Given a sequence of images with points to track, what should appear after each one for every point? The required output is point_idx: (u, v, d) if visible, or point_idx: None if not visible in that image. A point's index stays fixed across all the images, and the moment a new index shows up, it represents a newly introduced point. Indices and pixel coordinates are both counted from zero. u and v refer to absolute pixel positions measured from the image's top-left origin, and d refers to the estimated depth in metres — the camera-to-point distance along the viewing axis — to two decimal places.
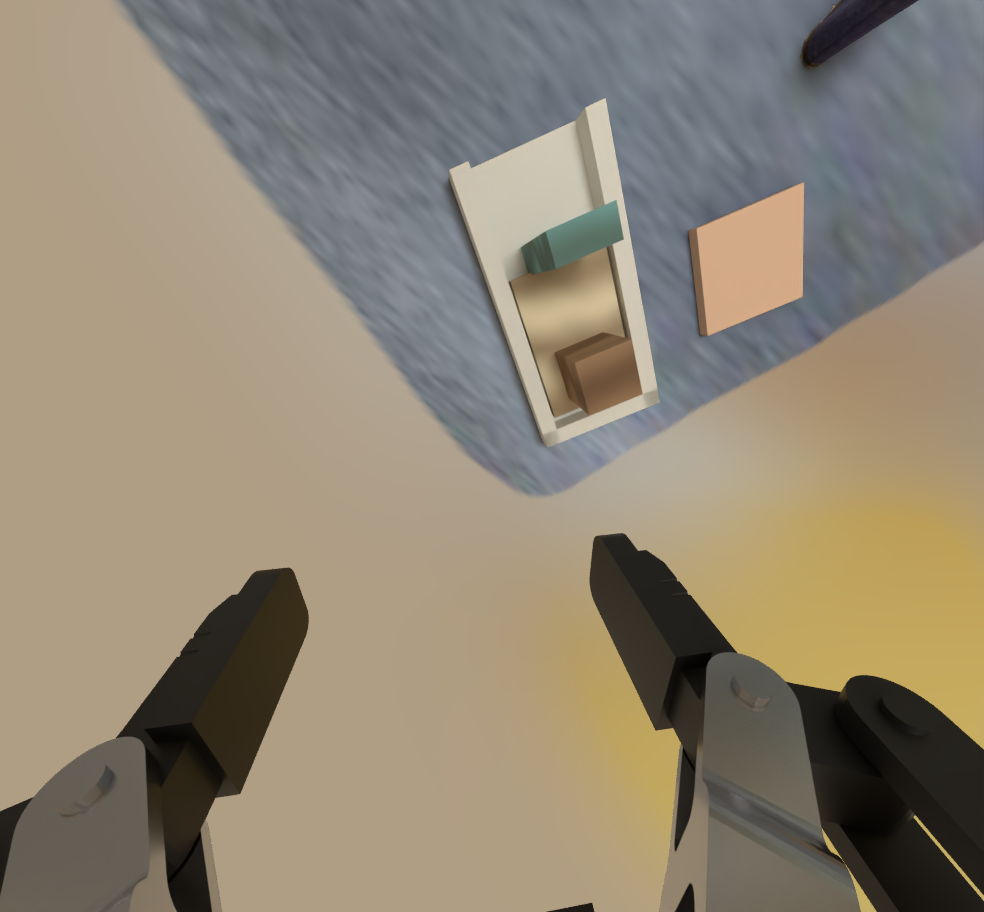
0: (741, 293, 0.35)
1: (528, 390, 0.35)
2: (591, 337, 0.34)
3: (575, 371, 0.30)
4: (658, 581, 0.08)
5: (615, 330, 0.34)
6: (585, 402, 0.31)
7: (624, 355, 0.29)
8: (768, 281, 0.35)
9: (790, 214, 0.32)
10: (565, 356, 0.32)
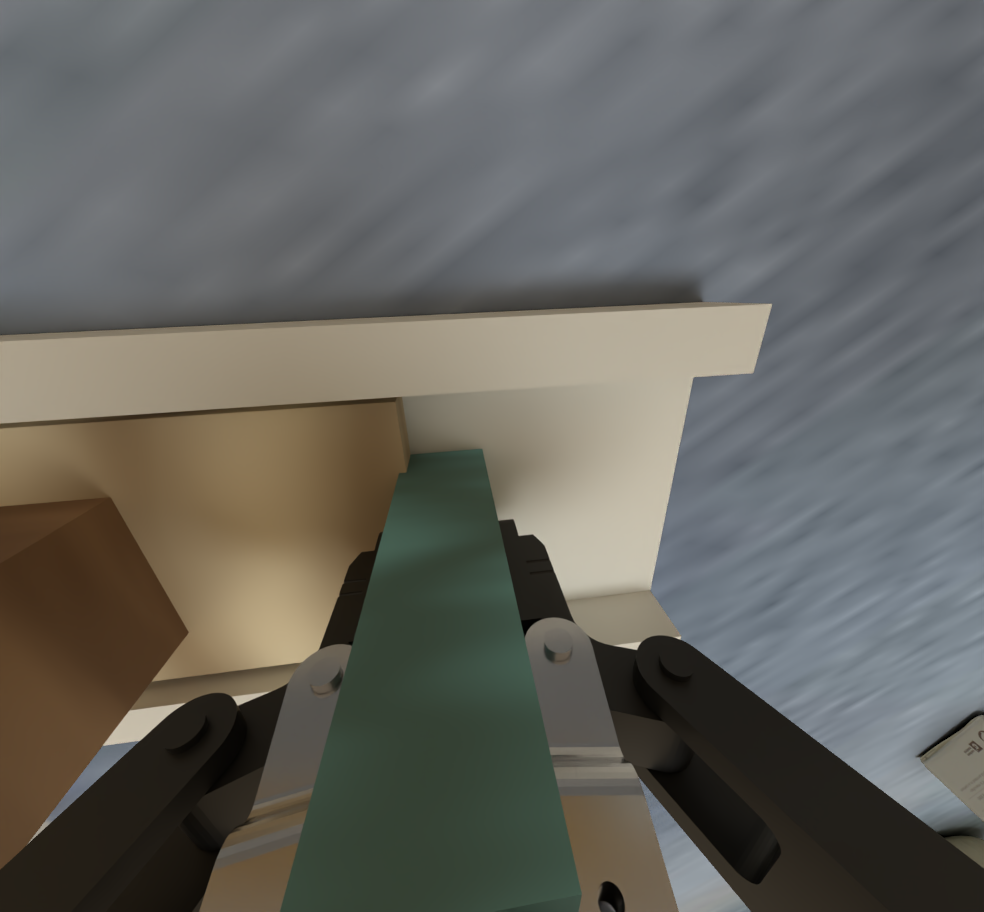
0: None
1: None
2: (166, 609, 0.10)
3: None
4: (523, 559, 0.08)
5: (193, 660, 0.12)
6: None
7: None
8: None
9: None
10: None
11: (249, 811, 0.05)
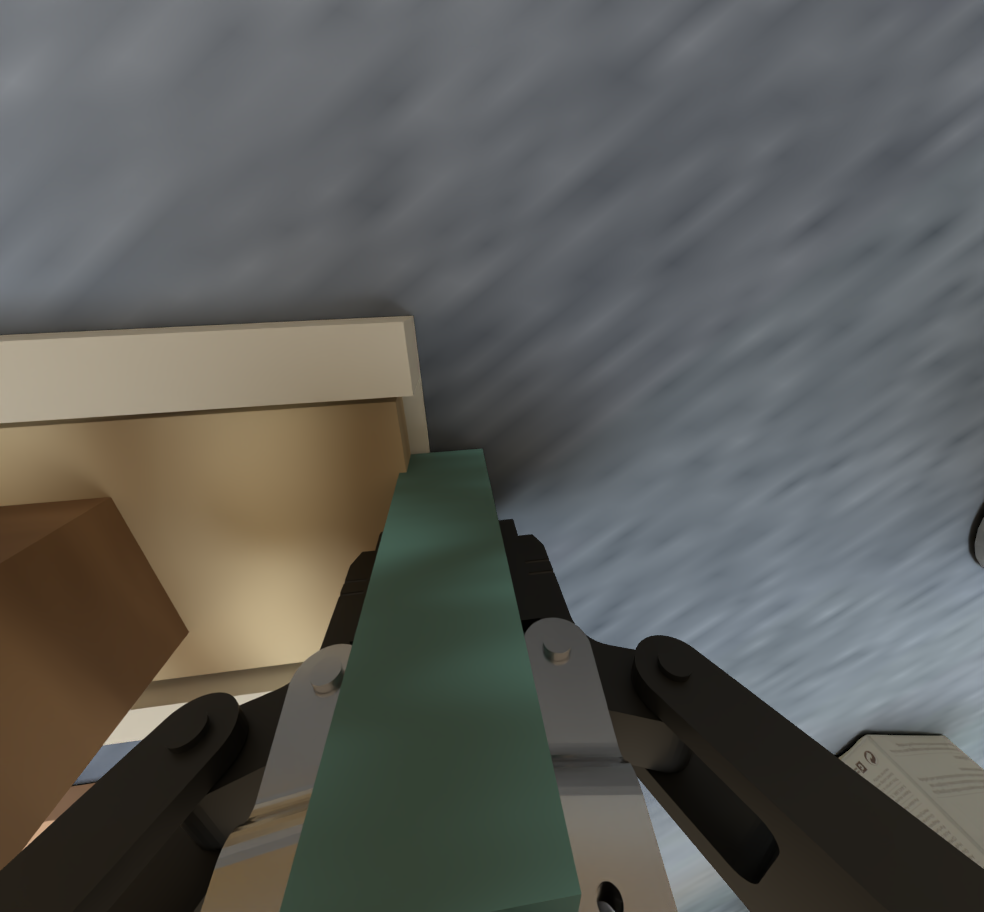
0: None
1: None
2: (167, 609, 0.10)
3: None
4: (522, 559, 0.08)
5: (193, 659, 0.12)
6: None
7: None
8: None
9: None
10: None
11: (251, 811, 0.05)
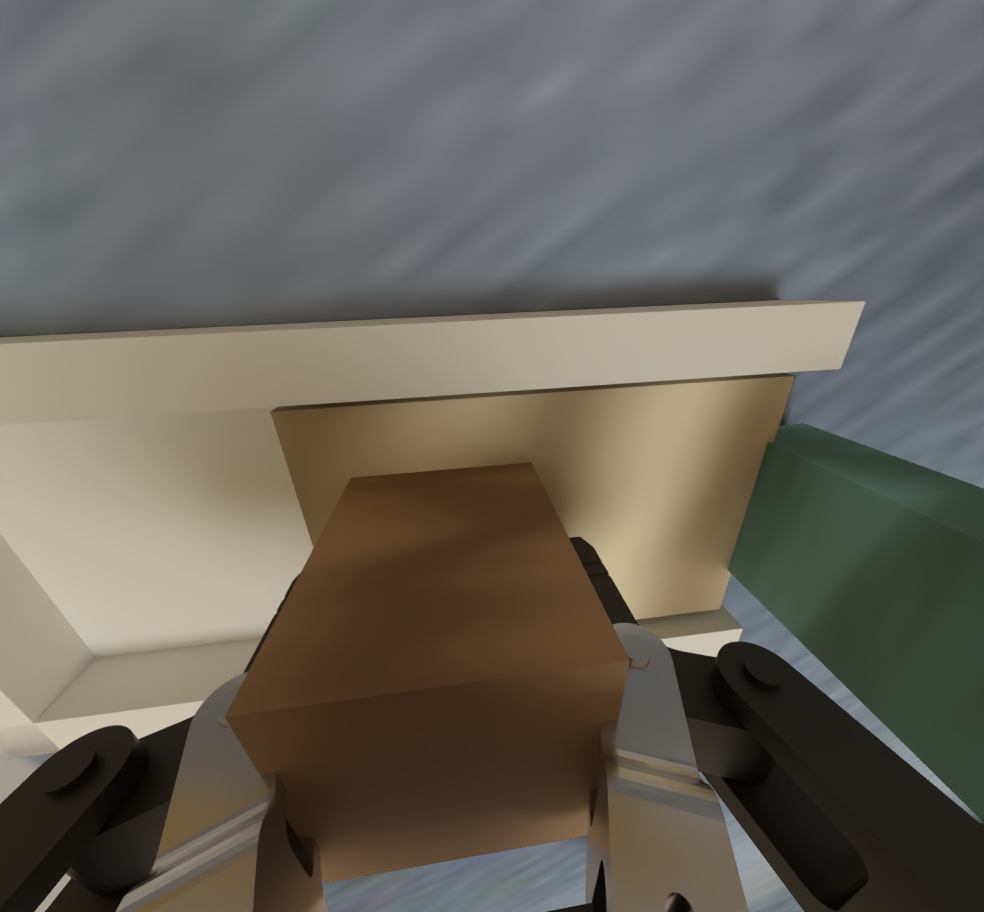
0: None
1: None
2: None
3: (551, 632, 0.05)
4: None
5: None
6: (338, 688, 0.04)
7: (542, 822, 0.06)
8: None
9: None
10: None
11: (146, 854, 0.05)
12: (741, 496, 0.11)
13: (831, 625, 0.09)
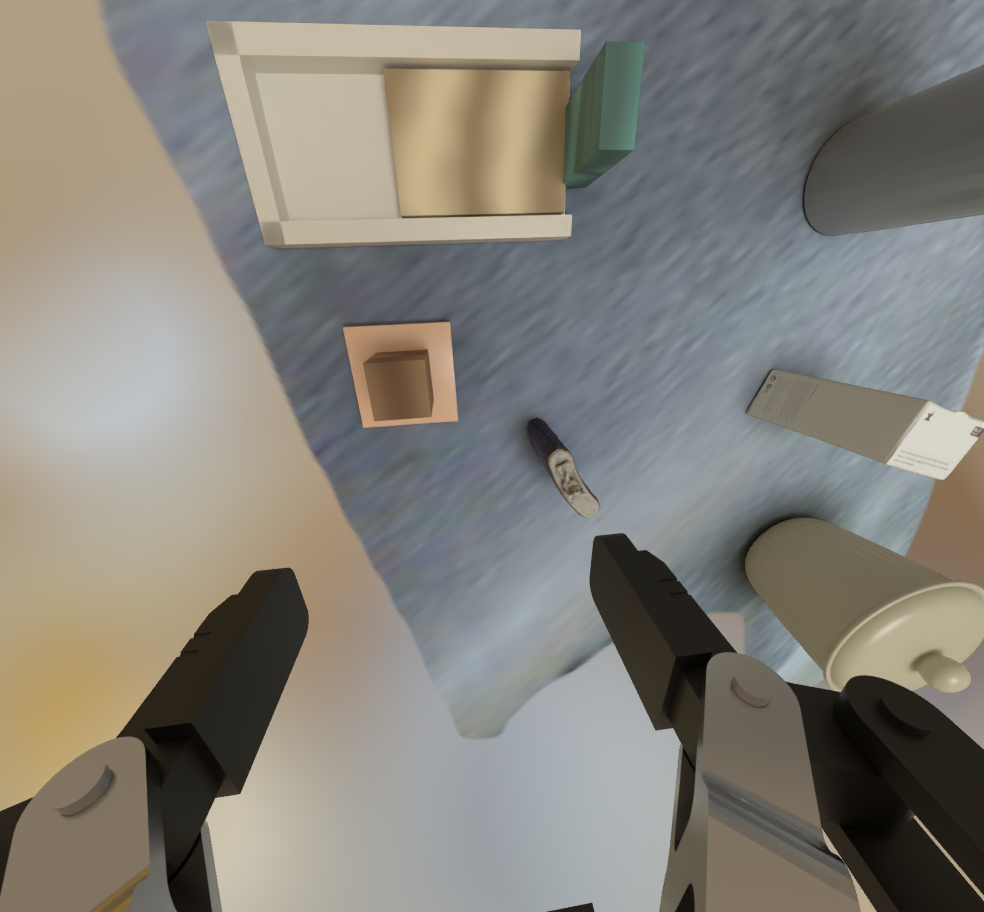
0: None
1: (311, 25, 0.24)
2: (432, 387, 0.36)
3: (414, 359, 0.30)
4: (658, 581, 0.08)
5: (474, 203, 0.30)
6: (378, 362, 0.29)
7: (418, 408, 0.31)
8: None
9: (437, 411, 0.37)
10: (426, 355, 0.32)
11: None
12: (560, 136, 0.28)
13: (577, 151, 0.26)
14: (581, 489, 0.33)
